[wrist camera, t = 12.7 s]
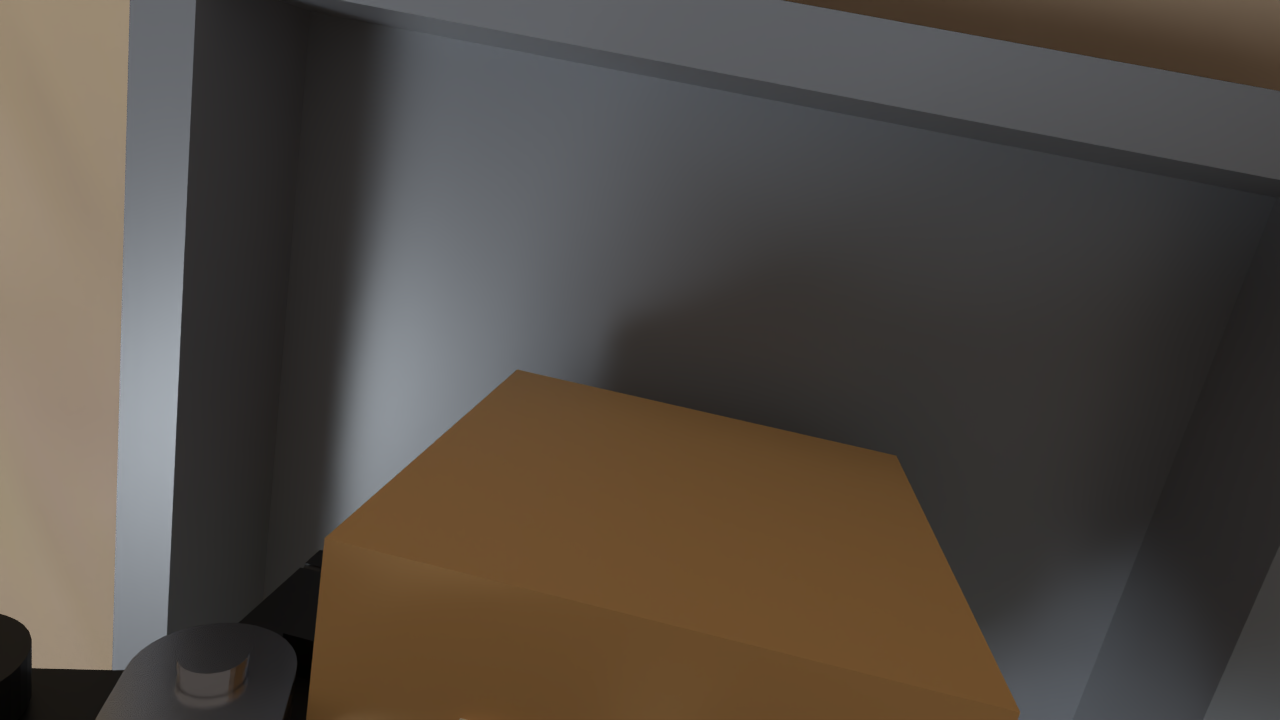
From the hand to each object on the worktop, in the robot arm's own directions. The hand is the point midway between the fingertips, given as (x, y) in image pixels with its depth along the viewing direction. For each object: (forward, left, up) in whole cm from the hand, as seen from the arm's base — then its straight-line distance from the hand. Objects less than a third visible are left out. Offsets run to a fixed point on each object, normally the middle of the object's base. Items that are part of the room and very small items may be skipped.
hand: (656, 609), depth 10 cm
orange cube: (0, 0, -1) cm, 1 cm away
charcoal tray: (0, 0, -3) cm, 3 cm away
